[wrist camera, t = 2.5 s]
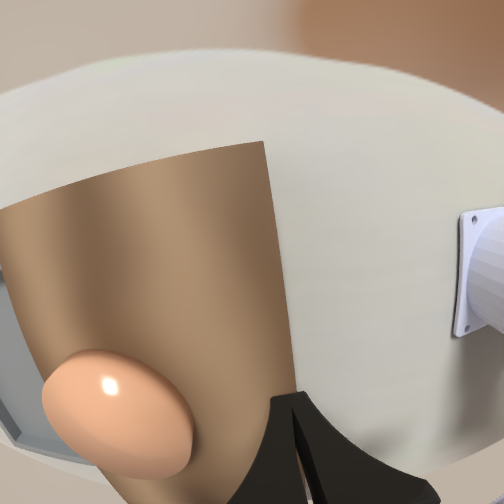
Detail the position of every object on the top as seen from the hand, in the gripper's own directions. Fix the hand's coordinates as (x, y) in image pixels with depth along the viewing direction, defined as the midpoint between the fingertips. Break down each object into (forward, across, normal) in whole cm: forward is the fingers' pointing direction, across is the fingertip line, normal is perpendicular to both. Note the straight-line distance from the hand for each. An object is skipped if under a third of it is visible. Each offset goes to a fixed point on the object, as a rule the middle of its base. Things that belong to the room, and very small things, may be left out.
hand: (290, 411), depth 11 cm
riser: (+5, +6, 0) cm, 7 cm away
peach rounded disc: (+1, +8, 0) cm, 8 cm away
